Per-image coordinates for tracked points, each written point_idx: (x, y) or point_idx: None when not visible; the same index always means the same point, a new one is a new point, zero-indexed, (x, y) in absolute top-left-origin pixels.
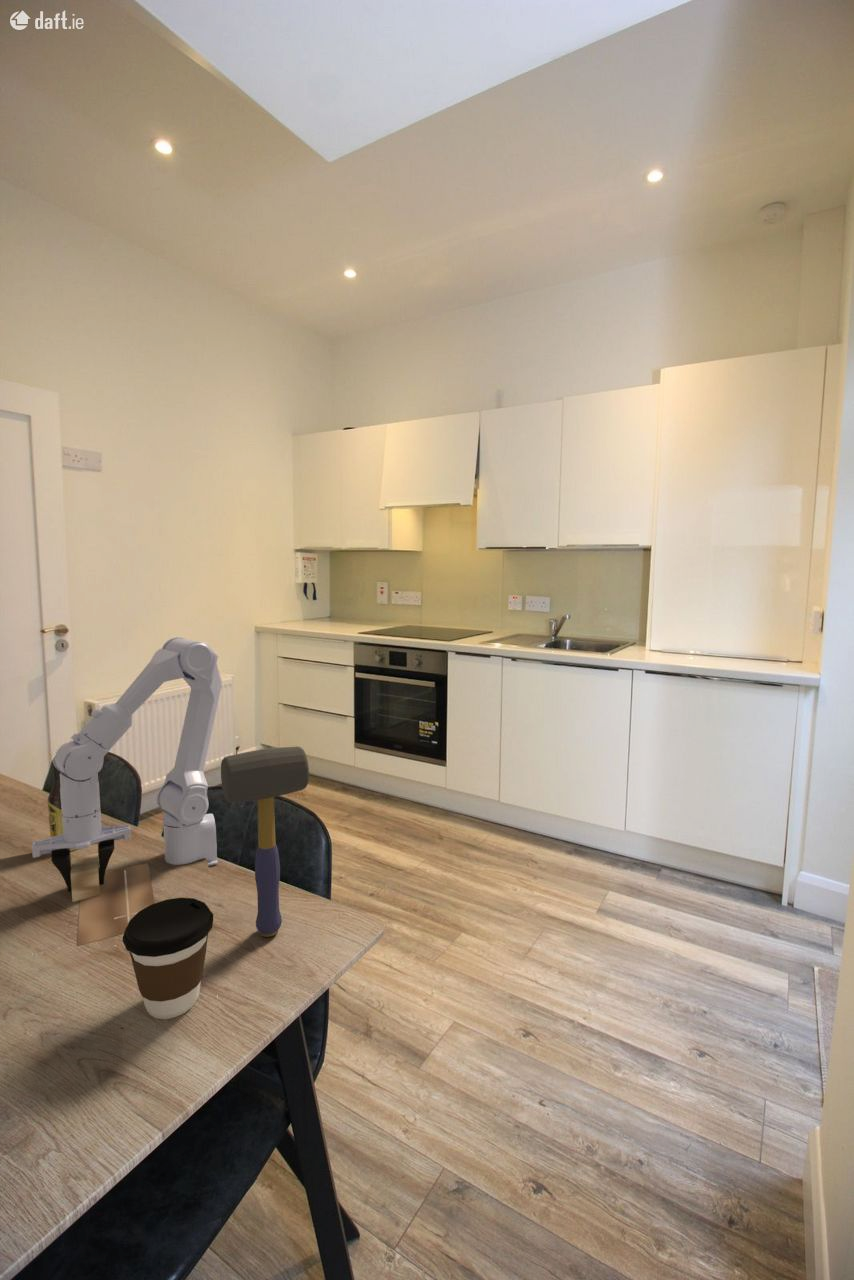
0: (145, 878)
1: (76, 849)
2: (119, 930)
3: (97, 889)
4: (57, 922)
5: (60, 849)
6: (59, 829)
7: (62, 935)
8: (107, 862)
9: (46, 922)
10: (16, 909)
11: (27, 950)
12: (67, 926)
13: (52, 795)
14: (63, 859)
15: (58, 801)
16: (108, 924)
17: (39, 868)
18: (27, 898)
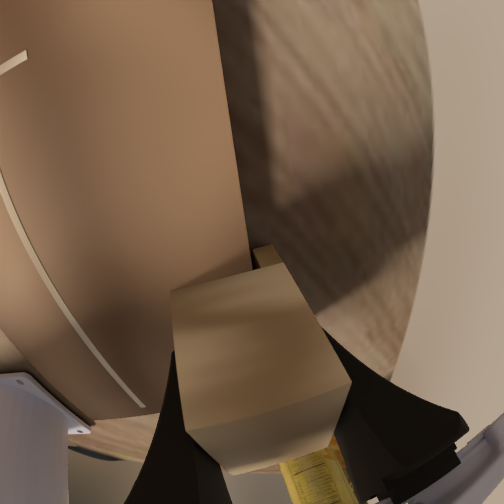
0: (44, 363)
1: None
2: None
3: (179, 314)
4: (317, 164)
5: (426, 488)
6: (338, 475)
7: (282, 47)
8: (149, 455)
9: (353, 179)
10: (410, 275)
11: (386, 12)
12: (273, 115)
13: None
14: (429, 455)
15: None
16: (50, 2)
17: None
18: (385, 317)
